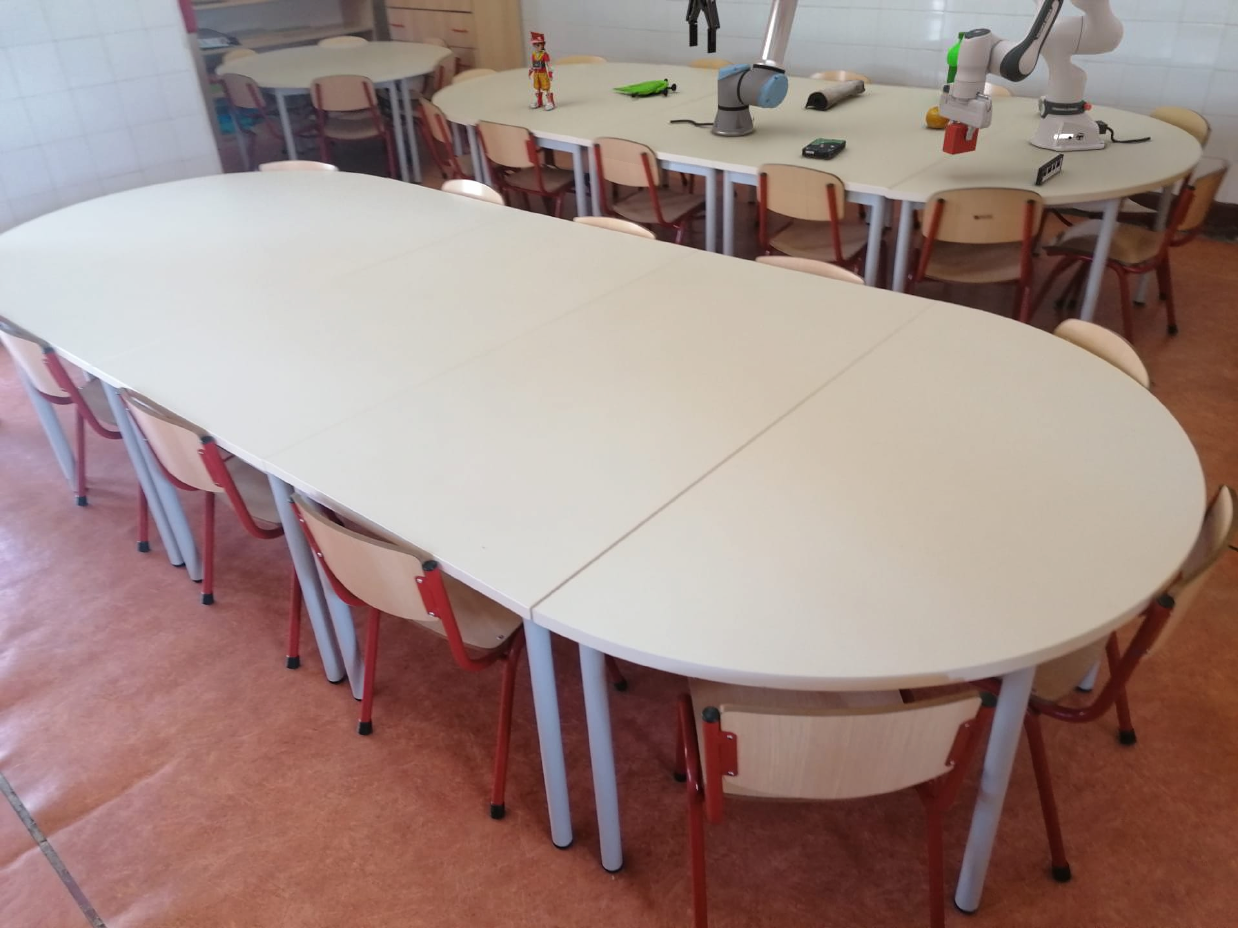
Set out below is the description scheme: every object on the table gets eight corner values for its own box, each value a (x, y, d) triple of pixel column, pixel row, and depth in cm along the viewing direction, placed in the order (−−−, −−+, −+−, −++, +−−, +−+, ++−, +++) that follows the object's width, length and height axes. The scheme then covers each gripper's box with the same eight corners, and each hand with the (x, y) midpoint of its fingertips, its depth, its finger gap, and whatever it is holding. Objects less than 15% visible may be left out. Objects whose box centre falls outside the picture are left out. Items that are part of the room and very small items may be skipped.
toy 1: (525, 109, 381) (517, 32, 364) (534, 104, 388) (527, 28, 371) (550, 110, 377) (543, 32, 360) (559, 105, 384) (553, 28, 367)
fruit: (920, 119, 323) (935, 99, 320) (921, 122, 331) (935, 102, 328) (940, 132, 322) (955, 112, 319) (940, 135, 329) (955, 115, 326)
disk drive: (830, 160, 301) (845, 148, 311) (830, 152, 299) (846, 140, 309) (801, 157, 305) (817, 145, 315) (801, 148, 304) (818, 137, 314)
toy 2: (686, 85, 398) (631, 84, 414) (685, 72, 395) (629, 72, 411) (651, 104, 381) (596, 103, 397) (650, 92, 378) (594, 91, 394)
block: (975, 150, 276) (979, 124, 272) (951, 155, 274) (956, 128, 270) (965, 147, 280) (969, 120, 276) (942, 151, 278) (946, 125, 273)
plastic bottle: (973, 101, 354) (984, 32, 339) (955, 106, 349) (966, 36, 335) (952, 97, 361) (962, 29, 346) (934, 102, 356) (944, 33, 342)
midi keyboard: (1039, 185, 269) (1043, 168, 266) (1035, 184, 270) (1038, 168, 267) (1060, 170, 279) (1064, 154, 277) (1056, 169, 280) (1060, 153, 277)
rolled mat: (840, 84, 376) (857, 68, 368) (852, 102, 376) (869, 87, 368) (801, 102, 358) (818, 86, 350) (814, 122, 359) (831, 106, 351)
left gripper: (731, -22, 270) (730, 54, 282) (696, -29, 289) (696, 42, 301) (709, -20, 267) (708, 57, 280) (675, -27, 287) (676, 45, 299)
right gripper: (1001, 95, 260) (992, 143, 268) (955, 82, 276) (948, 128, 283) (983, 98, 258) (975, 147, 266) (938, 85, 274) (931, 131, 282)
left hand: (702, 49), depth 290 cm, fingers open, 13 cm apart
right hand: (960, 137), depth 275 cm, fingers closed on block, 5 cm apart
